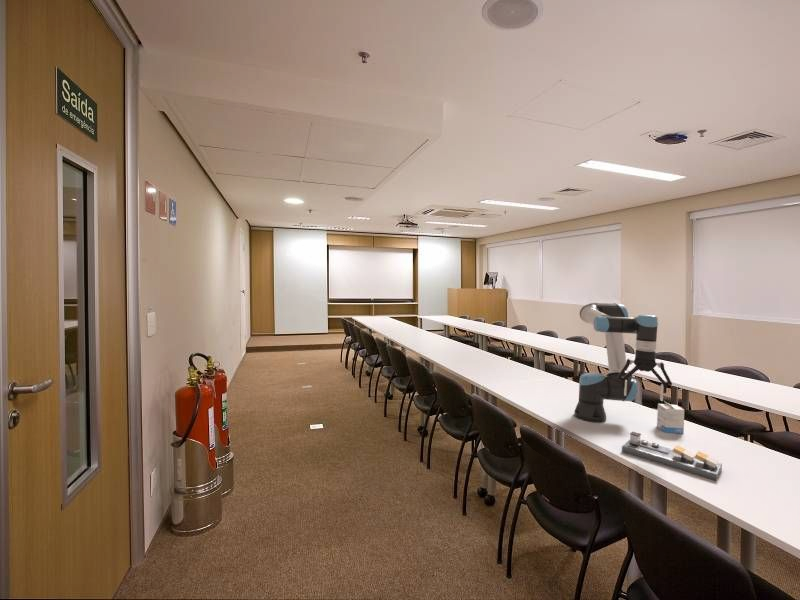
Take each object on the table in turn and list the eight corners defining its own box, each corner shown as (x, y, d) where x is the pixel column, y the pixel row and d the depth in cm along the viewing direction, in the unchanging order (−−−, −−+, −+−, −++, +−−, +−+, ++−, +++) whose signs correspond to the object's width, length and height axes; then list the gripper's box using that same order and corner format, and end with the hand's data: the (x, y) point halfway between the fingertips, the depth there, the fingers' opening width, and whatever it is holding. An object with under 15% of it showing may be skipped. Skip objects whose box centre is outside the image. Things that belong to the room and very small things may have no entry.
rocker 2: (694, 458, 146) (695, 454, 146) (697, 453, 150) (698, 450, 150) (714, 468, 142) (716, 464, 142) (717, 463, 146) (718, 460, 145)
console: (621, 451, 161) (622, 443, 161) (631, 443, 170) (631, 435, 170) (716, 481, 139) (717, 471, 139) (721, 469, 148) (722, 460, 148)
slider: (629, 442, 164) (630, 433, 163) (631, 440, 166) (632, 431, 165) (638, 445, 161) (638, 435, 161) (640, 443, 163) (640, 433, 163)
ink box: (683, 434, 183) (685, 406, 182) (664, 432, 184) (666, 405, 184) (674, 427, 191) (676, 401, 190) (656, 425, 193) (657, 399, 192)
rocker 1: (672, 451, 151) (673, 448, 151) (675, 447, 155) (676, 444, 155) (691, 461, 147) (692, 458, 147) (694, 457, 151) (695, 453, 151)
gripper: (613, 348, 171) (610, 395, 172) (681, 354, 159) (678, 404, 160) (613, 345, 178) (610, 390, 179) (678, 351, 166) (675, 400, 167)
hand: (642, 397), depth 170 cm, fingers open, 13 cm apart
